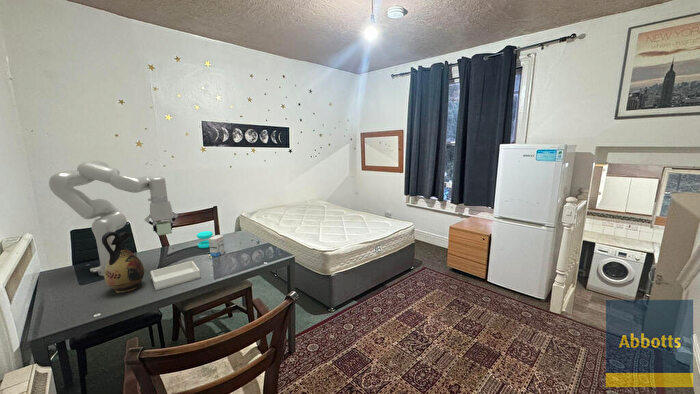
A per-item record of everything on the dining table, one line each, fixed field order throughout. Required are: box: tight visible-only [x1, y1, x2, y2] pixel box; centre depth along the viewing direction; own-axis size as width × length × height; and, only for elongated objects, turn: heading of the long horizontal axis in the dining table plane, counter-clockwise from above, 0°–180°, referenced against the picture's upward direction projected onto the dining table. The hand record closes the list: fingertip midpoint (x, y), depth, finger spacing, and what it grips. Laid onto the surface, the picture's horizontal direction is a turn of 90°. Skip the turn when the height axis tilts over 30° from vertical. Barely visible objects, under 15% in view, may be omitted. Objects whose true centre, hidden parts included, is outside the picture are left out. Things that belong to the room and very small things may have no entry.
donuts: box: [196, 230, 214, 249], centre depth 194 cm, size 10×10×10 cm
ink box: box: [208, 234, 226, 258], centre depth 181 cm, size 9×5×12 cm, turn 168°
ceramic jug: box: [102, 231, 145, 294], centre depth 135 cm, size 17×15×30 cm
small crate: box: [156, 220, 173, 236], centre depth 156 cm, size 6×6×6 cm
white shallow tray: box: [149, 260, 201, 291], centre depth 148 cm, size 20×16×4 cm
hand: (163, 230), depth 157 cm, fingers closed on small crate, 6 cm apart
